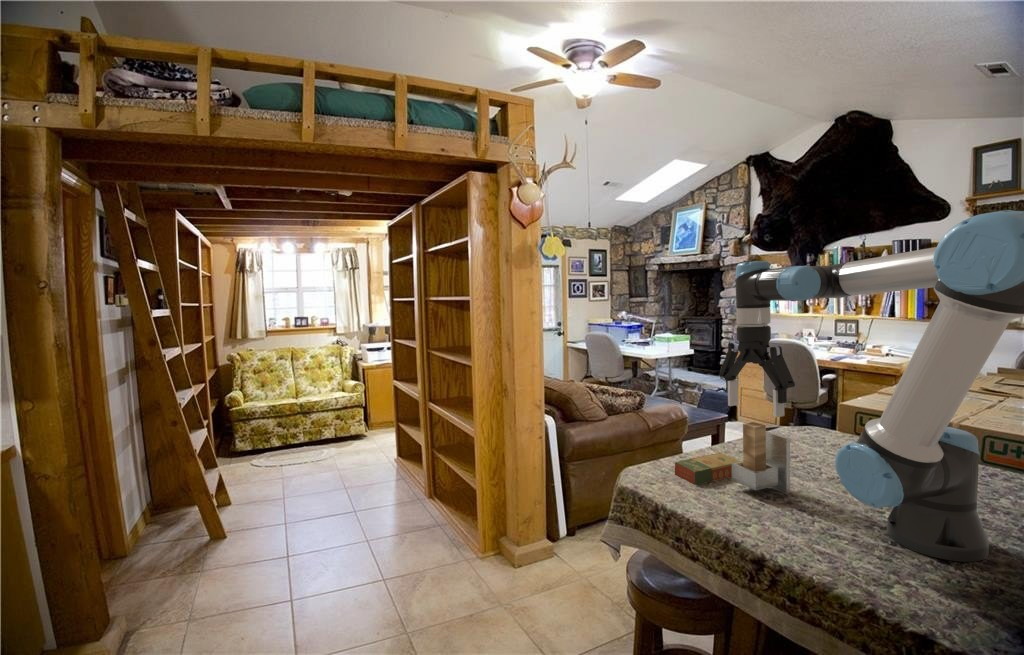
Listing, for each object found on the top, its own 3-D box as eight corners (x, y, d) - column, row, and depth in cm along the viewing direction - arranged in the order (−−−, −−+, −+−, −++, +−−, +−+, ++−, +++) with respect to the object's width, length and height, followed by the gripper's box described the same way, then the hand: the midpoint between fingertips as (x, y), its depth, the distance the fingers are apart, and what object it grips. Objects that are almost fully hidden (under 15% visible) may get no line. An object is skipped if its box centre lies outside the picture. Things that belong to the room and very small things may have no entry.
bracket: (790, 493, 120) (790, 437, 119) (760, 501, 117) (759, 444, 116) (756, 479, 130) (756, 427, 129) (727, 486, 126) (727, 433, 125)
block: (765, 480, 122) (765, 425, 120) (755, 483, 120) (754, 427, 119) (754, 475, 125) (753, 421, 124) (743, 478, 124) (742, 423, 123)
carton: (742, 476, 133) (742, 461, 133) (694, 486, 128) (694, 471, 128) (720, 466, 141) (720, 451, 141) (674, 475, 136) (674, 460, 135)
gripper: (811, 326, 109) (812, 419, 111) (725, 322, 133) (727, 399, 134) (787, 328, 107) (789, 424, 108) (703, 324, 130) (705, 403, 131)
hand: (754, 410), depth 121 cm, fingers open, 13 cm apart
